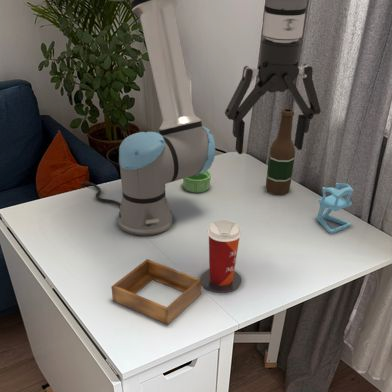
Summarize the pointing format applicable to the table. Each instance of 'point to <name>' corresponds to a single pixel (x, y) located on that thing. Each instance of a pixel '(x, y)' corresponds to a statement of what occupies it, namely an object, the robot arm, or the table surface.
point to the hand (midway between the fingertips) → (268, 149)
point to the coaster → (216, 288)
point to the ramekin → (197, 182)
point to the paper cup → (223, 251)
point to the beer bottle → (281, 157)
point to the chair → (334, 205)
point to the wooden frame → (151, 271)
